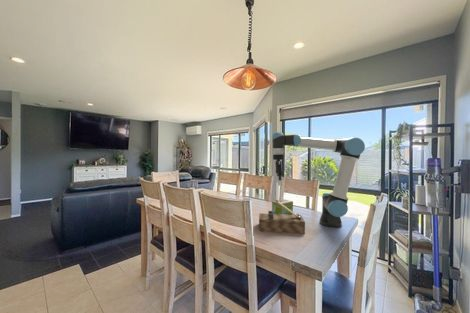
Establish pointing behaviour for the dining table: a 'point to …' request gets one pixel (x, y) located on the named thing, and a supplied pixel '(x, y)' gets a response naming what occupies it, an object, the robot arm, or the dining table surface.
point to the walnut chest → (281, 223)
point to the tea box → (281, 210)
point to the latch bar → (286, 208)
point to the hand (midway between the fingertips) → (279, 183)
